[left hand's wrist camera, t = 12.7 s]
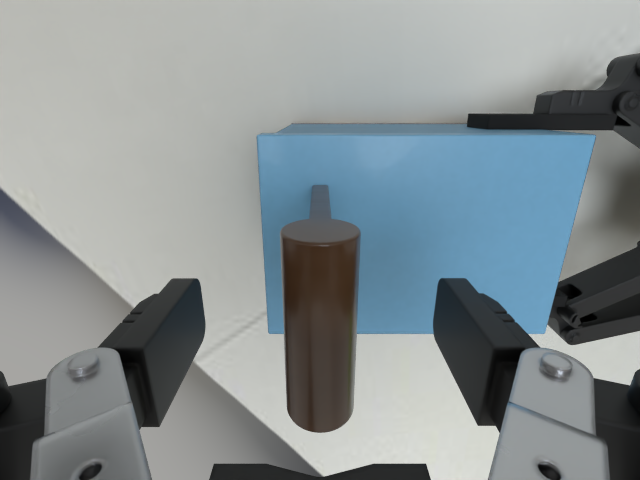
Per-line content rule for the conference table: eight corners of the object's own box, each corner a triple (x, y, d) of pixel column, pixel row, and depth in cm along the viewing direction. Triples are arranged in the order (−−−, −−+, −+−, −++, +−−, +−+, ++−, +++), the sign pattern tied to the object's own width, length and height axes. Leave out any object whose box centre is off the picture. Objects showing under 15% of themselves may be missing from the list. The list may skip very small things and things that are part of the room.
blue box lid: (270, 322, 19) (234, 480, 11) (260, 133, 16) (196, 159, 8) (533, 322, 19) (690, 480, 11) (579, 132, 16) (857, 159, 8)
